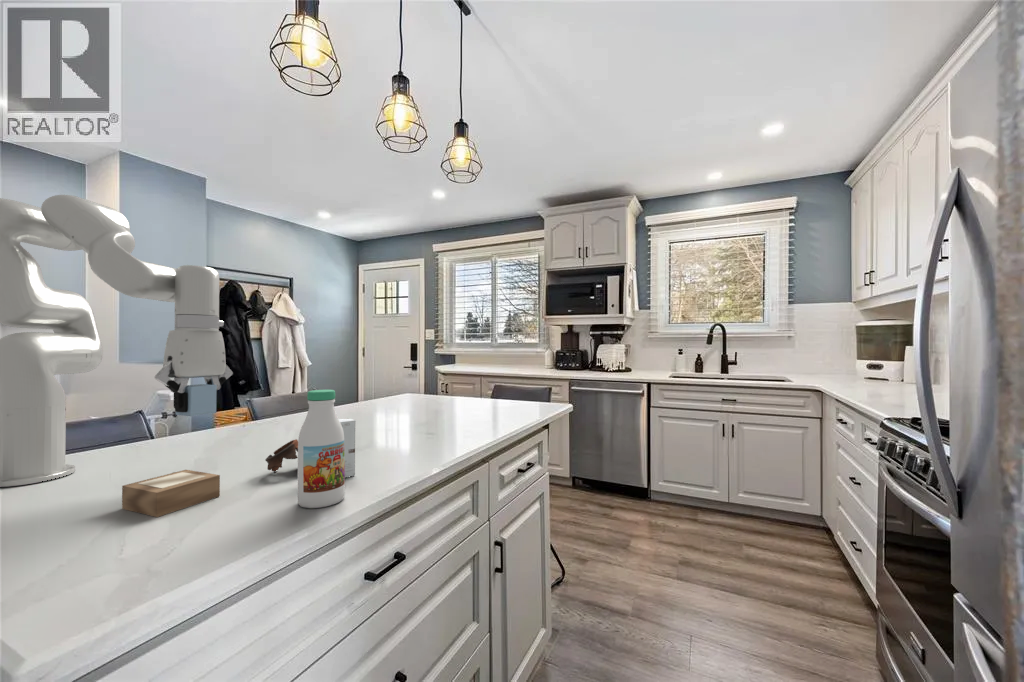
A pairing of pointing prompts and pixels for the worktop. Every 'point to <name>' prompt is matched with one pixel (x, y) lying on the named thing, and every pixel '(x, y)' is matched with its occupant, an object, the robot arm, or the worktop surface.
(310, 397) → the milk bottle
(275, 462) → the brown segmented ring
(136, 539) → the worktop surface
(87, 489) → the worktop surface
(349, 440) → the skincare box
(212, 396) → the slate block
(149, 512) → the walnut plinth
